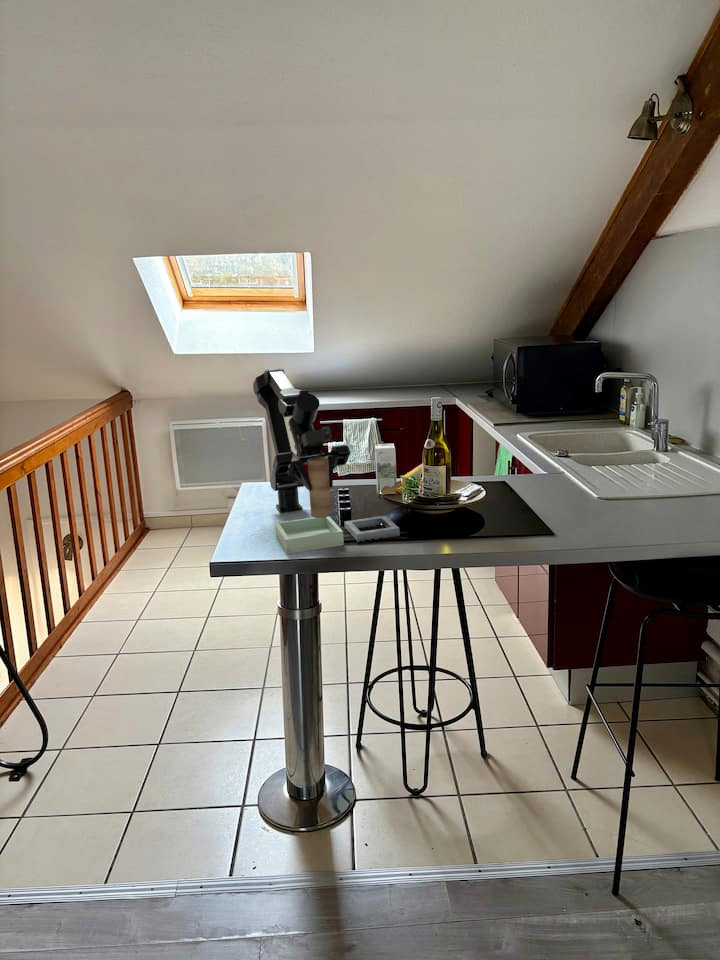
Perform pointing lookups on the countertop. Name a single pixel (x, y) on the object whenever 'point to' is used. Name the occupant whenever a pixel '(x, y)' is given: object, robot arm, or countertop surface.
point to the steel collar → (386, 532)
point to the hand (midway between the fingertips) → (321, 488)
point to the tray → (308, 534)
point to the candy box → (412, 474)
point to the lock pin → (319, 487)
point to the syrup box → (385, 465)
